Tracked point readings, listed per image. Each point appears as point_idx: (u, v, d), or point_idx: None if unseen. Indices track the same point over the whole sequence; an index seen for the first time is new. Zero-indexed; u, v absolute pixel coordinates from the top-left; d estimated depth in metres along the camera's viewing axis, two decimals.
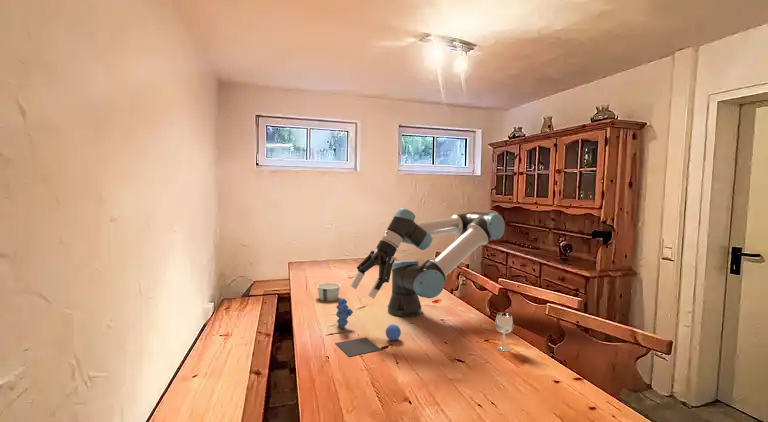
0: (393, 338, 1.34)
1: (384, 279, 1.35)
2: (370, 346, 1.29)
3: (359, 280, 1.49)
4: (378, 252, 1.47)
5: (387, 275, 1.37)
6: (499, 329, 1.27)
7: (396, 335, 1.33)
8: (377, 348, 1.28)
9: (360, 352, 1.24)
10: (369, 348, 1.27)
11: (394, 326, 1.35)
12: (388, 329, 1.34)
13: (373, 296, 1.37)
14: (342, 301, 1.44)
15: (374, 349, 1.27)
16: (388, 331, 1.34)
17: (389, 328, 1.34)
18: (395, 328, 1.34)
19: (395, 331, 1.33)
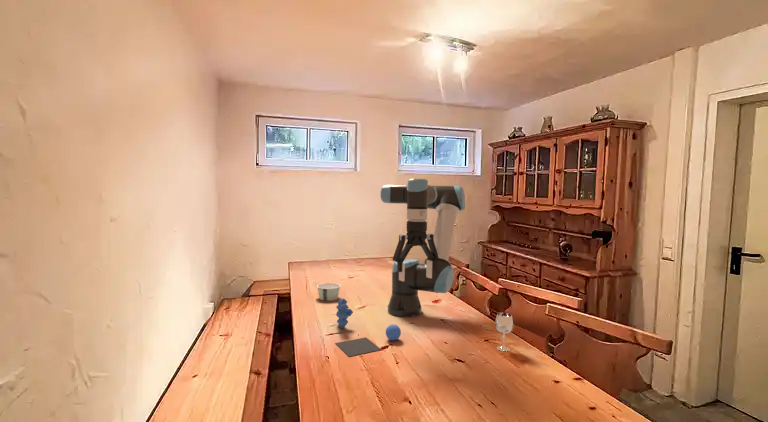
0: (393, 338, 1.34)
1: (437, 257, 1.43)
2: (370, 346, 1.29)
3: None
4: (413, 233, 1.37)
5: None
6: (499, 329, 1.27)
7: (396, 335, 1.33)
8: (377, 348, 1.28)
9: (360, 352, 1.24)
10: (369, 348, 1.27)
11: (394, 326, 1.35)
12: (388, 329, 1.34)
13: None
14: (342, 301, 1.44)
15: (374, 349, 1.27)
16: (388, 331, 1.34)
17: (389, 328, 1.34)
18: (395, 328, 1.34)
19: (395, 331, 1.33)
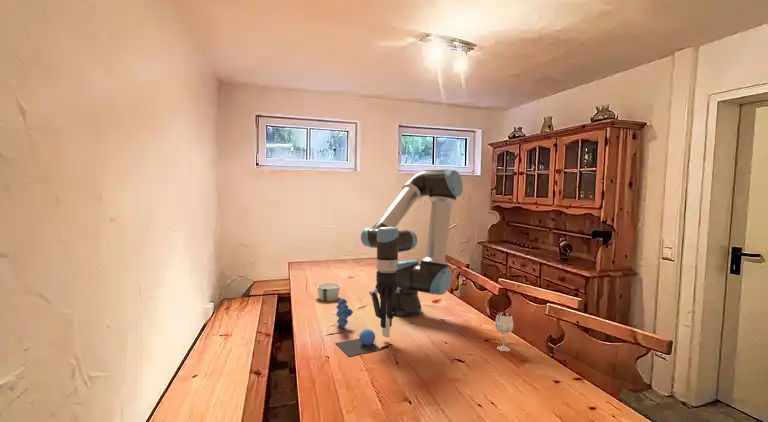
0: (370, 334, 1.29)
1: (395, 315, 1.35)
2: (370, 346, 1.29)
3: None
4: (381, 284, 1.31)
5: None
6: (499, 329, 1.27)
7: (370, 339, 1.28)
8: (377, 348, 1.28)
9: (360, 352, 1.24)
10: (369, 348, 1.27)
11: None
12: None
13: None
14: (342, 301, 1.44)
15: (374, 349, 1.27)
16: (374, 335, 1.31)
17: None
18: (373, 342, 1.30)
19: (372, 341, 1.29)
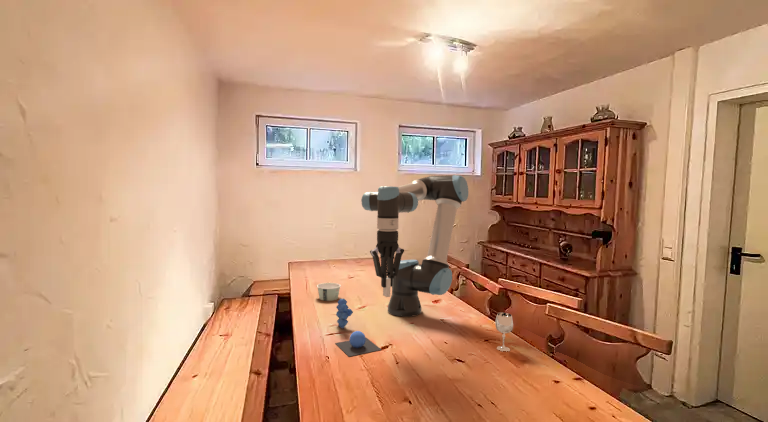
0: (355, 340, 1.26)
1: None
2: (370, 346, 1.29)
3: None
4: (381, 243, 1.31)
5: None
6: (499, 329, 1.27)
7: (360, 342, 1.26)
8: (377, 348, 1.28)
9: (360, 352, 1.24)
10: (369, 348, 1.27)
11: None
12: (360, 331, 1.29)
13: None
14: (342, 301, 1.44)
15: (374, 349, 1.27)
16: (358, 332, 1.28)
17: (361, 332, 1.29)
18: (364, 337, 1.28)
19: (363, 339, 1.27)
